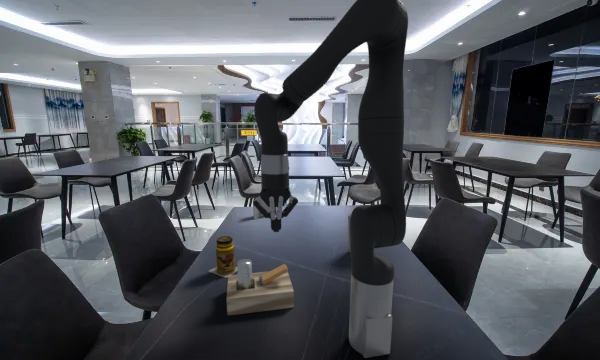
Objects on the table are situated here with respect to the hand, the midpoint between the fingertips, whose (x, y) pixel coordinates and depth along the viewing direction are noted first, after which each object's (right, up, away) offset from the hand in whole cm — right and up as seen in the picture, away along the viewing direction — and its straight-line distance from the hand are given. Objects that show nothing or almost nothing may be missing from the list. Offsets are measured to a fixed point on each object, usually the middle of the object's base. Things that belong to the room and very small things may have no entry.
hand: (276, 231), depth 81 cm
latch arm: (-1, -14, +3) cm, 14 cm away
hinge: (-13, -6, +76) cm, 78 cm away
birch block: (-5, -20, +3) cm, 21 cm away
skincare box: (+31, -14, +33) cm, 47 cm away
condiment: (-19, -17, +19) cm, 32 cm away
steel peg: (-9, -20, +2) cm, 22 cm away
